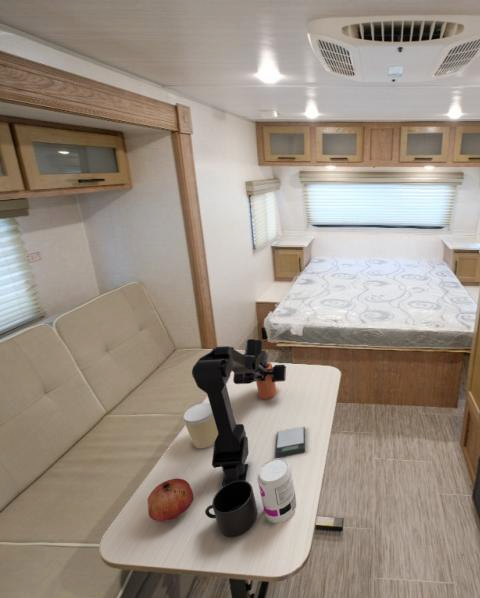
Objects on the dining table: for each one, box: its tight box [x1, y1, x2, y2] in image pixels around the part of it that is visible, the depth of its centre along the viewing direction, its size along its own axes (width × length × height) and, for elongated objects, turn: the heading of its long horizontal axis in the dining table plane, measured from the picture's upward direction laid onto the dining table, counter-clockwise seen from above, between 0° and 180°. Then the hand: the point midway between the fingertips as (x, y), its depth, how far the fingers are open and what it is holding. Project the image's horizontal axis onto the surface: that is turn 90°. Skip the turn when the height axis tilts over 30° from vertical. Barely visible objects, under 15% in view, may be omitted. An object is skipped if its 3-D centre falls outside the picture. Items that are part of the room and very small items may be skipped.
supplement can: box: [257, 458, 297, 524], centre depth 90 cm, size 8×8×15 cm
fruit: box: [147, 478, 195, 523], centre depth 91 cm, size 11×10×10 cm
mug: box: [204, 480, 259, 538], centre depth 89 cm, size 9×12×9 cm
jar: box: [255, 361, 277, 400], centre depth 137 cm, size 7×7×13 cm
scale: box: [275, 426, 306, 458], centre depth 115 cm, size 10×9×2 cm
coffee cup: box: [182, 402, 218, 449], centre depth 114 cm, size 9×9×12 cm
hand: (266, 378), depth 138 cm, fingers closed on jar, 7 cm apart
